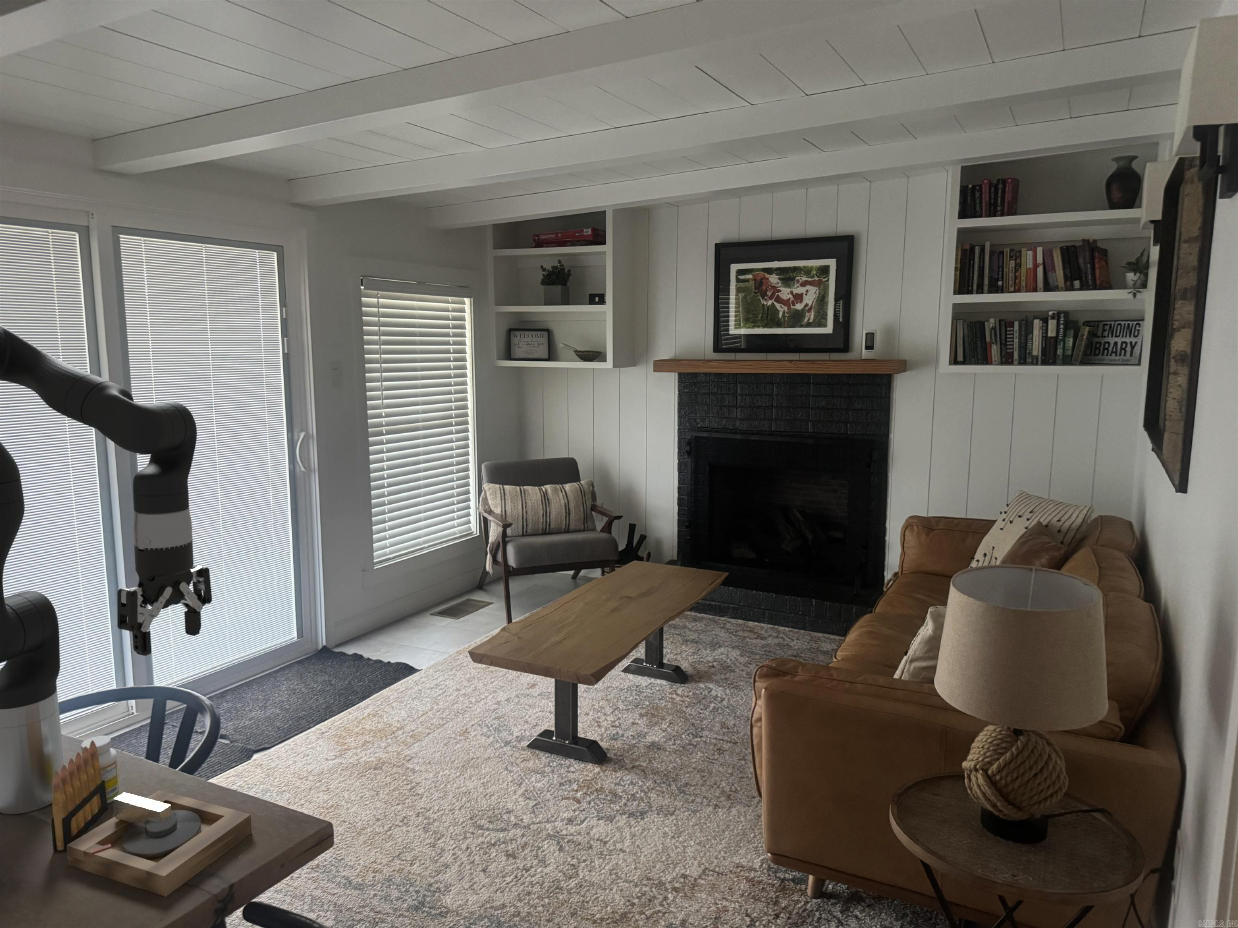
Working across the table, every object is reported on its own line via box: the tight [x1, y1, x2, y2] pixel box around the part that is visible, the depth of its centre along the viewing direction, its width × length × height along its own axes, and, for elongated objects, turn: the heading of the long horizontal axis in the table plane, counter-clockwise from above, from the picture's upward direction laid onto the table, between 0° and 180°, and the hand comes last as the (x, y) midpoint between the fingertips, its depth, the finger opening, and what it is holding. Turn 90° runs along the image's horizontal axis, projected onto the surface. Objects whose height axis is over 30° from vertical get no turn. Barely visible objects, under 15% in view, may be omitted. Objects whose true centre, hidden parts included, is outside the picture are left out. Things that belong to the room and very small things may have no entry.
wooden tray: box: [66, 789, 253, 898], centre depth 117 cm, size 18×15×3 cm
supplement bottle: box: [80, 735, 121, 804], centre depth 129 cm, size 5×5×10 cm
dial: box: [112, 792, 201, 860], centre depth 118 cm, size 13×10×5 cm
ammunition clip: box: [50, 740, 109, 853], centre depth 121 cm, size 11×2×12 cm, turn 3°
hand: (168, 644), depth 122 cm, fingers open, 8 cm apart
